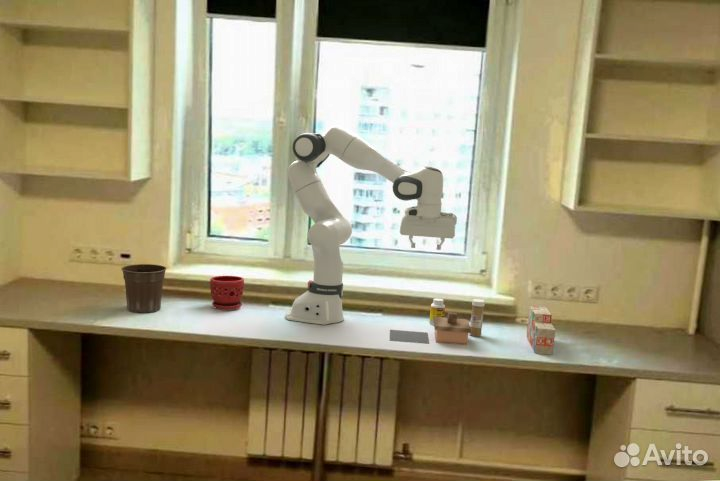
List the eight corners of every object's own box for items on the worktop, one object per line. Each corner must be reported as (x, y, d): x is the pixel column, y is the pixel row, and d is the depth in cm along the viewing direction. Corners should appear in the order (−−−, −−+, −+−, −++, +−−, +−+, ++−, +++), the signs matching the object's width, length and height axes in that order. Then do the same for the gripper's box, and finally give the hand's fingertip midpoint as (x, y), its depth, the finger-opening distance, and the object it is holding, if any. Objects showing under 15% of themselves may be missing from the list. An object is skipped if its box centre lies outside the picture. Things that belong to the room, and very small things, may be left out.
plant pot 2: (248, 305, 284) (249, 276, 282) (234, 313, 272) (236, 282, 270) (217, 301, 287) (219, 273, 285) (203, 309, 274) (204, 279, 273)
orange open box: (436, 343, 250) (437, 329, 249) (434, 334, 261) (435, 321, 260) (467, 345, 250) (468, 332, 249) (464, 336, 260) (465, 323, 260)
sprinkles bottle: (467, 335, 262) (471, 300, 260) (470, 332, 267) (473, 298, 265) (480, 337, 261) (483, 302, 259) (482, 334, 265) (486, 299, 263)
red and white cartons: (552, 355, 245) (556, 321, 243) (534, 353, 246) (538, 319, 244) (542, 338, 266) (546, 306, 264) (526, 336, 267) (529, 305, 265)
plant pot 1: (111, 308, 267) (112, 266, 264) (146, 301, 280) (147, 261, 277) (139, 317, 257) (140, 274, 255) (174, 309, 271) (175, 268, 268)
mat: (389, 341, 248) (389, 340, 248) (389, 330, 262) (389, 329, 262) (429, 344, 248) (429, 343, 248) (427, 333, 261) (427, 332, 261)
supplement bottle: (435, 327, 270) (437, 301, 269) (426, 323, 275) (428, 298, 273) (446, 326, 273) (448, 300, 272) (437, 322, 278) (439, 297, 276)
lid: (435, 330, 248) (436, 316, 248) (433, 320, 261) (434, 307, 260) (470, 332, 248) (472, 319, 247) (467, 323, 260) (468, 310, 260)
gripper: (456, 212, 261) (453, 249, 263) (401, 208, 262) (398, 245, 264) (458, 214, 255) (454, 252, 257) (401, 210, 256) (398, 248, 258)
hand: (425, 248), depth 261 cm, fingers open, 8 cm apart
